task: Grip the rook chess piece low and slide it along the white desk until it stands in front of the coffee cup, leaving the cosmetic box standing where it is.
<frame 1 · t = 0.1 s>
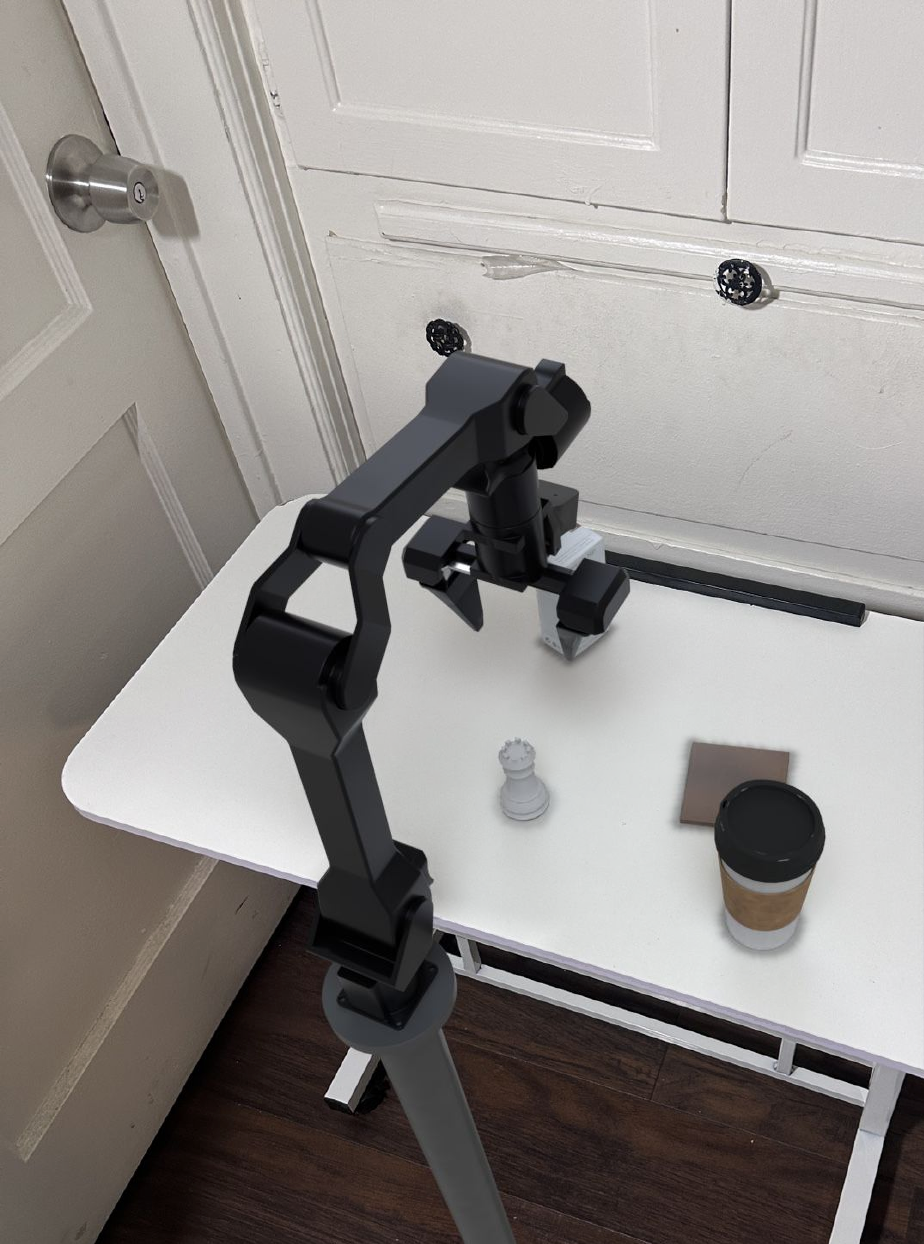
hand: (524, 642, 108), 12 cm above the table, tool pointing down, fingers open, 9 cm apart
coffee cup: (760, 921, 103), on the table
walnut coaster: (735, 788, 112), on the table
rook chess piece: (525, 804, 112), on the table
cosmetic box: (576, 635, 125), on the table
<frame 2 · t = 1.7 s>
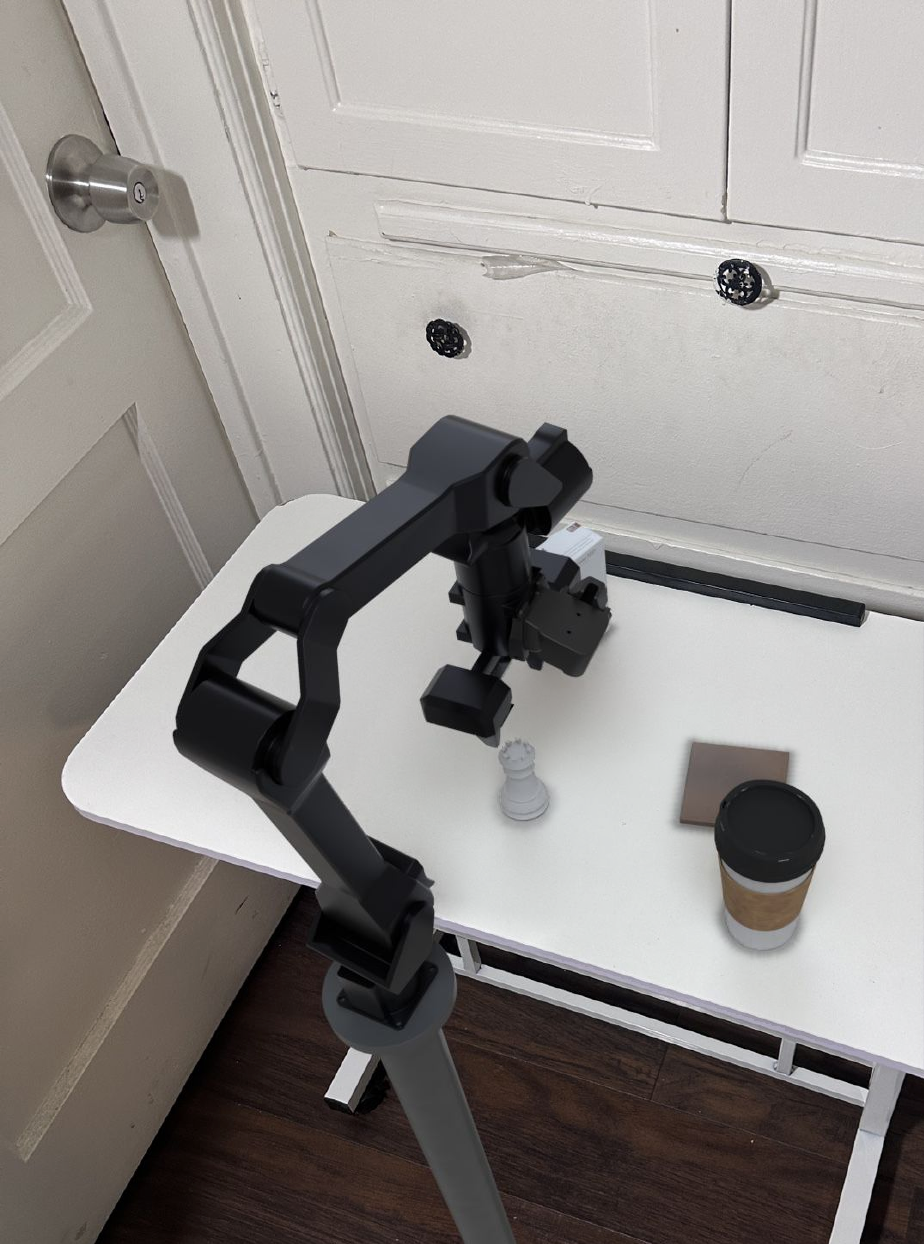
hand: (515, 706, 105), 11 cm above the table, tool pointing down, fingers open, 9 cm apart
nothing on the table moved.
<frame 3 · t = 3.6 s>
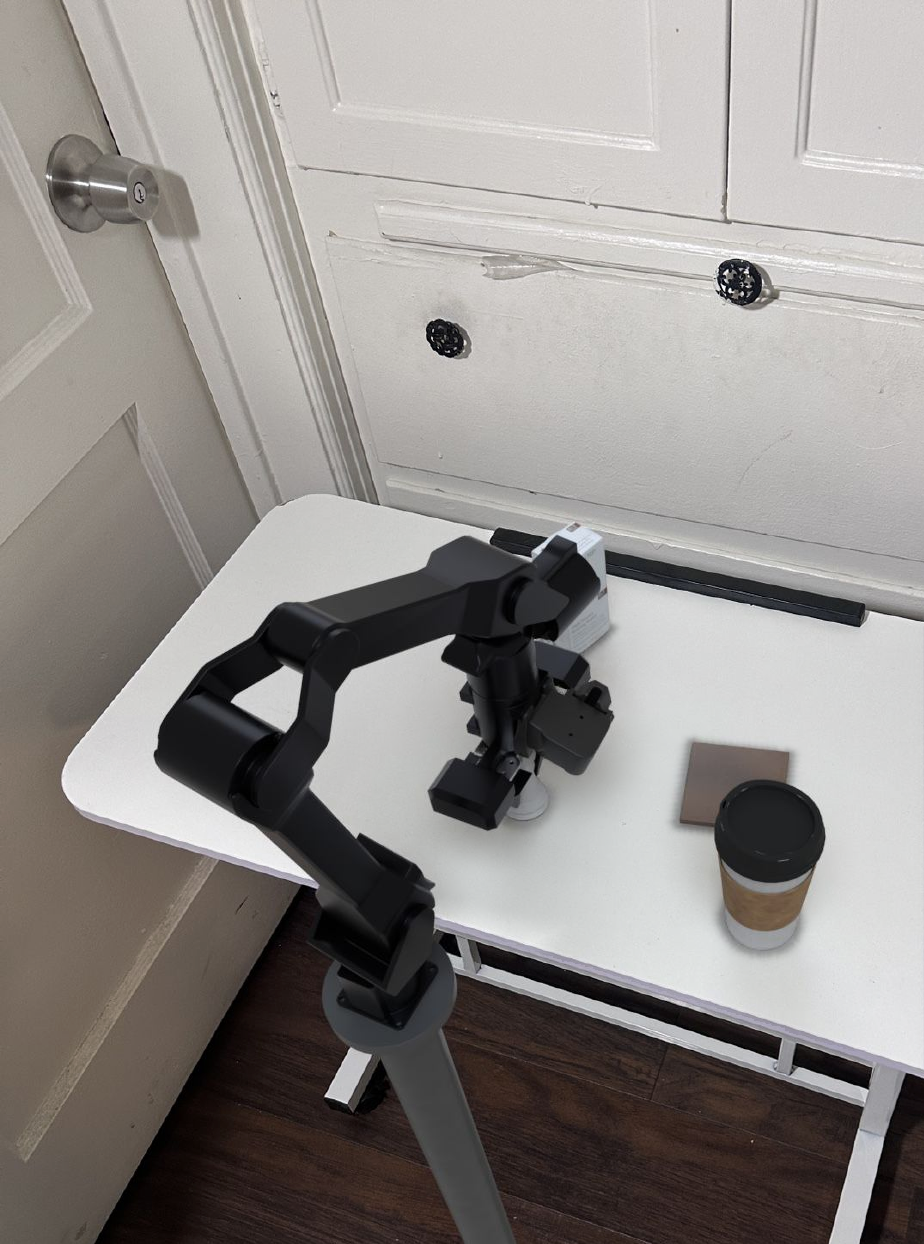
hand: (522, 790, 110), 2 cm above the table, tool pointing down, fingers closed on rook chess piece, 3 cm apart
rook chess piece: (525, 804, 112), on the table, touching gripper
everything else where it was.
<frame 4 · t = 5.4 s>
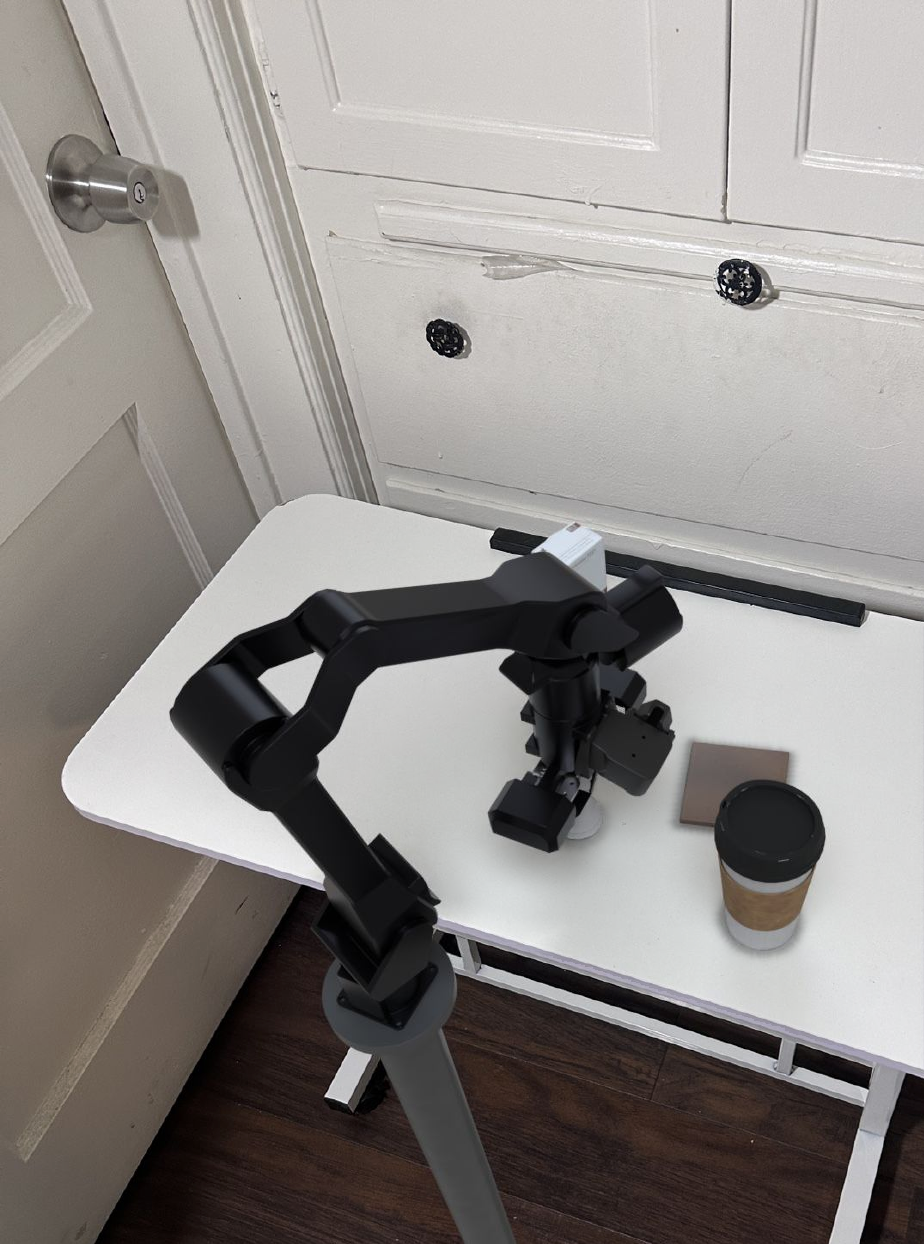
hand: (576, 809, 109), 2 cm above the table, tool pointing down, fingers closed on rook chess piece, 3 cm apart
rook chess piece: (578, 823, 110), on the table, touching gripper
everything else where it was.
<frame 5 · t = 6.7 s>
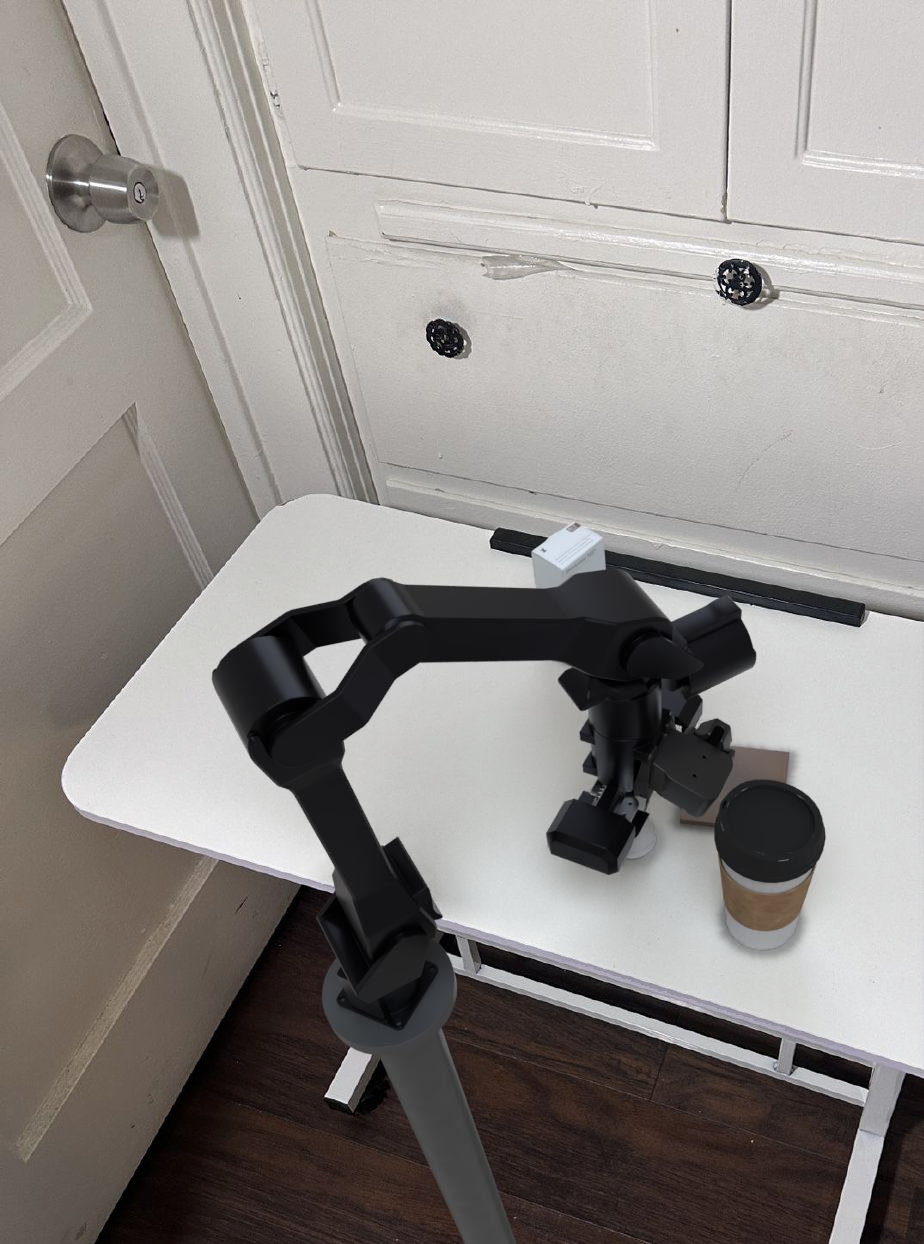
hand: (630, 828, 107), 2 cm above the table, tool pointing down, fingers closed on rook chess piece, 3 cm apart
rook chess piece: (631, 842, 109), on the table, touching gripper
everything else where it was.
when the fingers open (2 cm above the table, at t = 7.4 s): rook chess piece stays where it is, on the table.
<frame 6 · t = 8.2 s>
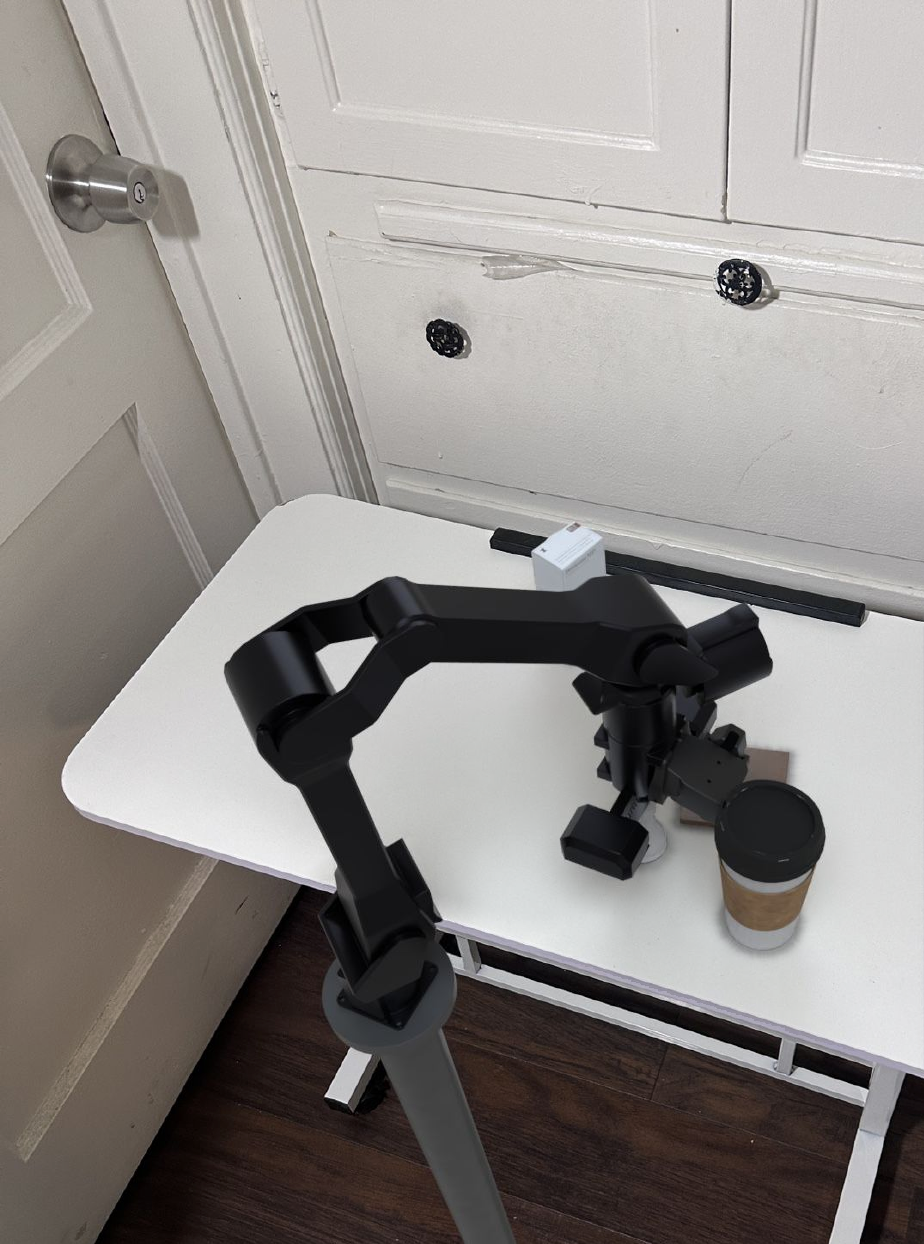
hand: (644, 833, 107), 2 cm above the table, tool pointing down, fingers open, 9 cm apart
rook chess piece: (641, 846, 109), on the table
everything else where it was.
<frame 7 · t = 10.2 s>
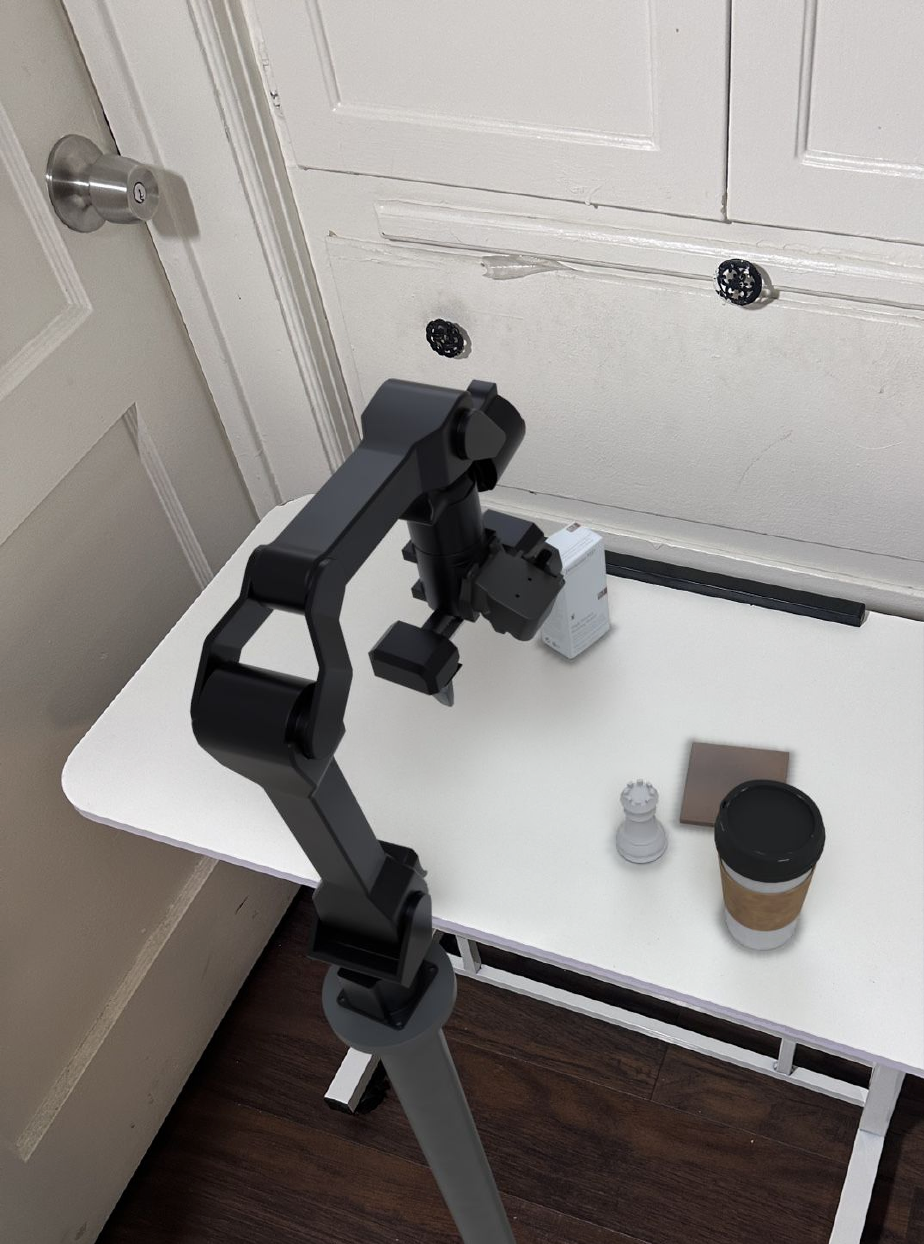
hand: (474, 667, 106), 12 cm above the table, tool pointing down, fingers open, 9 cm apart
nothing on the table moved.
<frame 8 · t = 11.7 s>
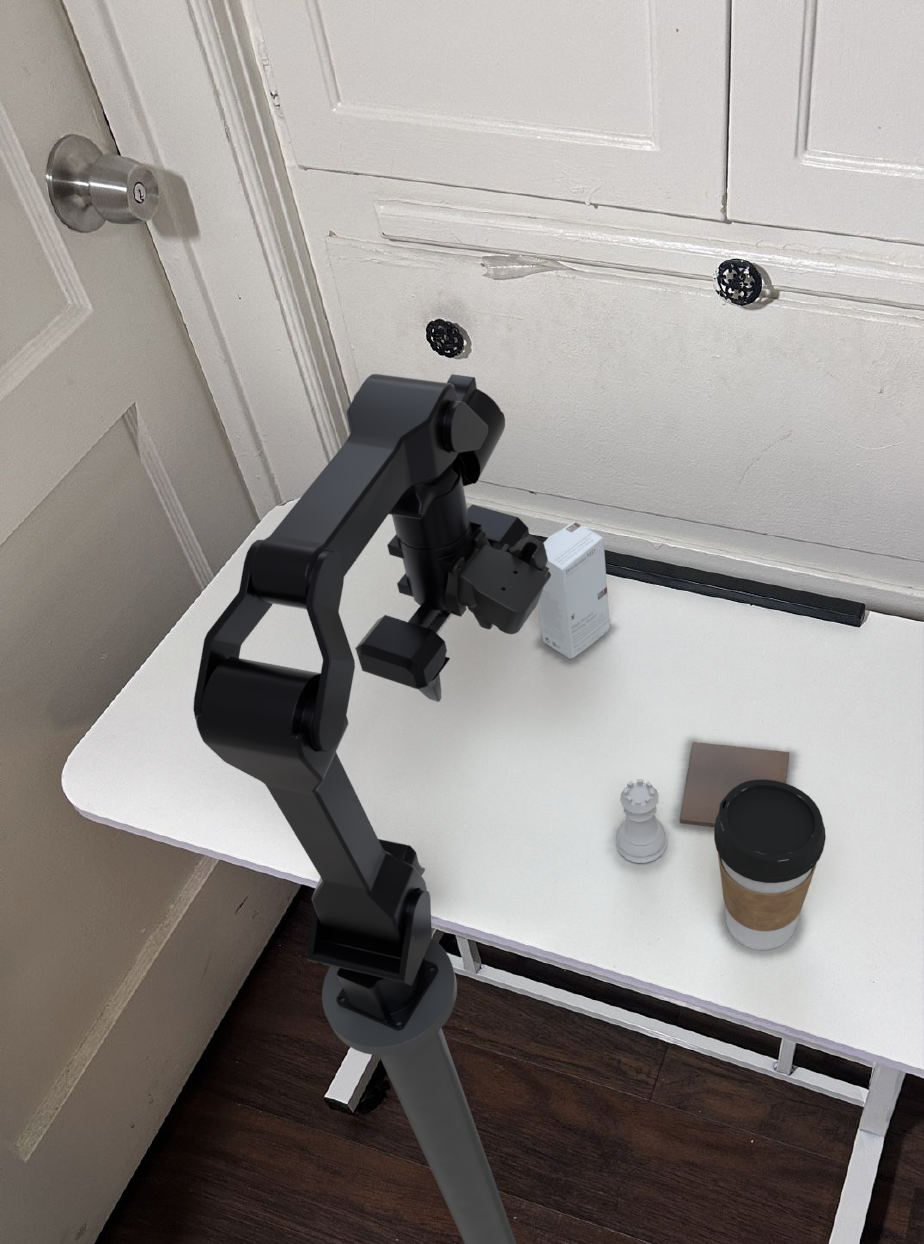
hand: (461, 662, 107), 12 cm above the table, tool pointing down, fingers open, 9 cm apart
nothing on the table moved.
at the end: rook chess piece inside the target area on the table beside the coffee cup (1.5 cm from its centre), on the table; rook chess piece tilted 0°; cosmetic box moved 0.2 cm from its start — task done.
